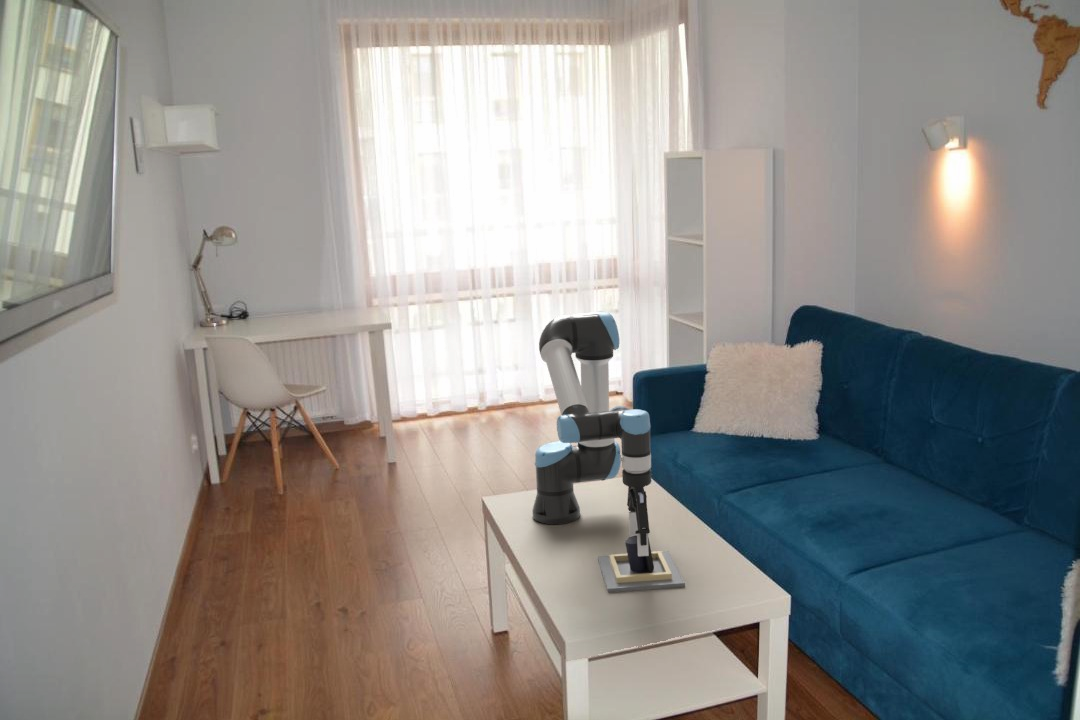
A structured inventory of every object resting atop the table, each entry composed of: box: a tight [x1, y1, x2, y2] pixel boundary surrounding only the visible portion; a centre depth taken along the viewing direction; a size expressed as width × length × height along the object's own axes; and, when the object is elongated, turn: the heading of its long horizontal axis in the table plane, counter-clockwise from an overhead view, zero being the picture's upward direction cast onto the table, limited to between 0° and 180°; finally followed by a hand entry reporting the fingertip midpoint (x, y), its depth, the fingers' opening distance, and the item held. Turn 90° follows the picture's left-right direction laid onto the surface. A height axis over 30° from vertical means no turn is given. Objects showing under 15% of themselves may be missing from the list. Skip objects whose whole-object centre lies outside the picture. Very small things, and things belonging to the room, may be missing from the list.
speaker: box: [624, 535, 654, 573], centre depth 230 cm, size 8×6×10 cm
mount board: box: [597, 550, 686, 593], centre depth 231 cm, size 20×20×2 cm
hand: (638, 544), depth 230 cm, fingers open, 13 cm apart
